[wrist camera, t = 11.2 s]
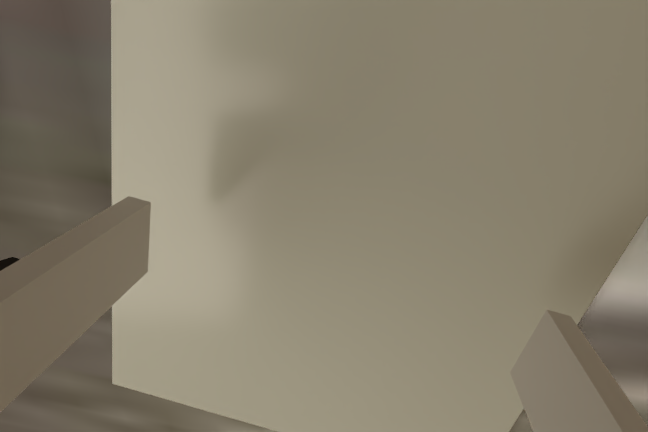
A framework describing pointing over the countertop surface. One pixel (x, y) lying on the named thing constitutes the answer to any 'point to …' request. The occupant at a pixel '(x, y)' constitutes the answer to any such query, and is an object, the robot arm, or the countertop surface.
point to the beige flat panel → (369, 199)
